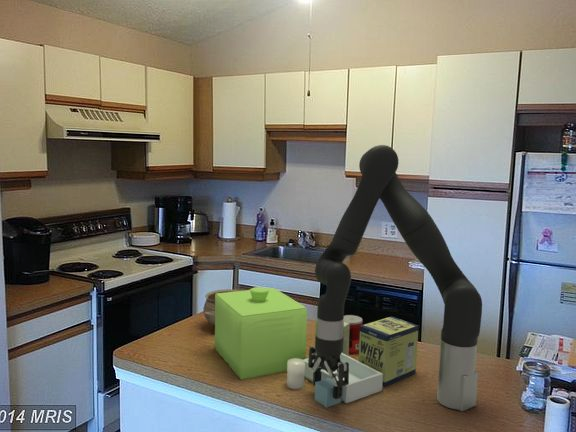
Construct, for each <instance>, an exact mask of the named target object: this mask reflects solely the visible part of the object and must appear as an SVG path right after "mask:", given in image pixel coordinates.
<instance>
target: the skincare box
mask: <svg viewBox="0 0 576 432" xmlns="http://www.w3.org/2000/svg"><path fill="white" fill-rule="evenodd" d="M349 328H350V323H347V322H344V340H343V351H342V353H343V354H345V355H347V356H349V355H350V354H349ZM349 357H350V356H349Z"/></svg>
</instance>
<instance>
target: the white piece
mask: <svg viewBox="0 0 576 432" xmlns="http://www.w3.org/2000/svg"><path fill="white" fill-rule="evenodd" d="M286 372H287V373H286V387H287V388H289V389H291V390H301V389H303V388H304V387H305V361H304V360H302V359H298V358H293V359H289V360H288V361H287V371H286Z"/></svg>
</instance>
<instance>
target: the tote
mask: <svg viewBox="0 0 576 432" xmlns="http://www.w3.org/2000/svg"><path fill="white" fill-rule="evenodd" d="M340 360H341V362H343V363H345V362H348V364H349V384H348V385H345V386H342V396H341V402H343V403H344V404H349V403H351V402H355V401H357V400H359V399H362V398H365V397H368V396H371V395H373V394H376V393H379V392H382V391H383V386H382V381H383V374H382V373H380V372H378V371H376V370H375V369H373V368H371V367H369V366H367V365H365V364H363V363H361V362H359V360H357V359H355V358H353V357H351V356H347V355H345V354H343V353H341V355H340ZM304 361H305V377H304V379H306V380H308V381H310V382H311V383H313V372H312V368H309V367H308V361H309V357H307V358H306V359H304ZM313 362H314V360H313V361H312V363H313ZM321 372H322V374H321V380H324V379H327V378H330V376H329V373H328V372H326V371H325V370H323V369H322V370H321ZM333 373H334V374H335V373H337V370H336V371H334V372H333ZM331 379H332V378H331ZM336 379H337V381H339V379H338V377H337V376H336ZM343 380H344V378H343Z"/></svg>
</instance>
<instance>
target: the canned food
mask: <svg viewBox="0 0 576 432" xmlns="http://www.w3.org/2000/svg"><path fill="white" fill-rule="evenodd" d="M344 322H347V323H350V328H349V355H356V354H359V342H360V326H361V325H364V324H363V323H364V322H363V318H362V317H360V316H358V315H354V314H346V315H344Z"/></svg>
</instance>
